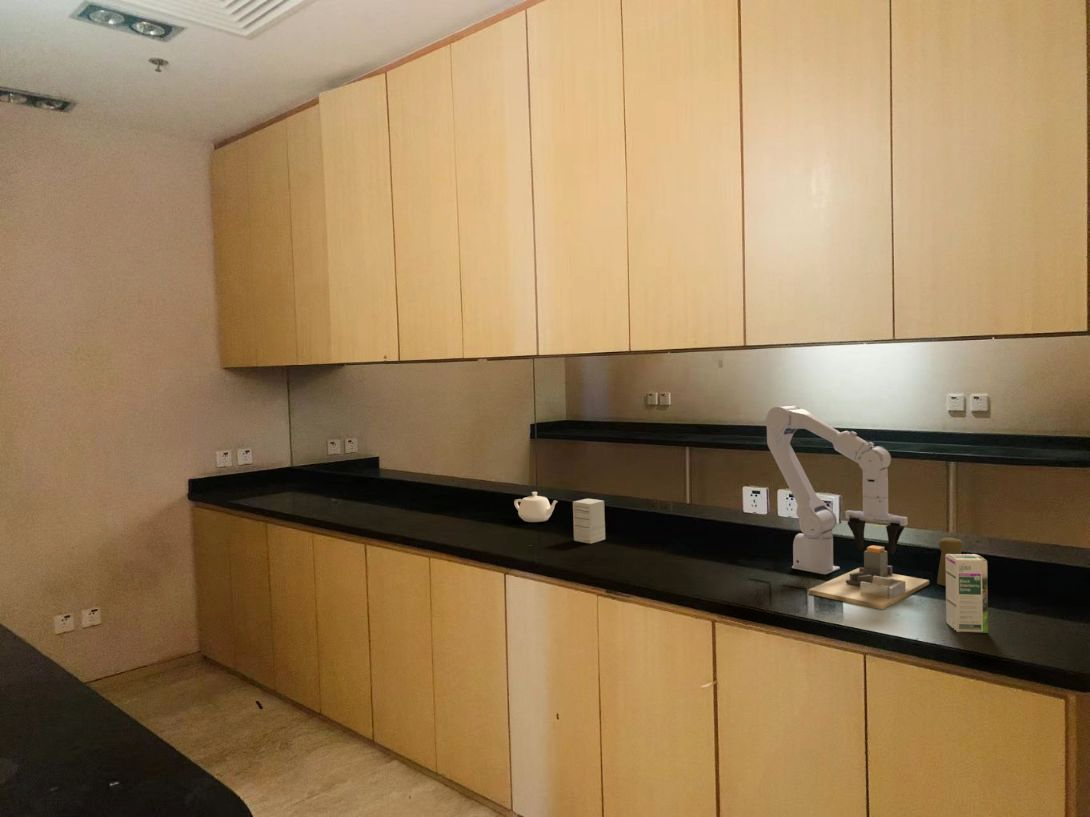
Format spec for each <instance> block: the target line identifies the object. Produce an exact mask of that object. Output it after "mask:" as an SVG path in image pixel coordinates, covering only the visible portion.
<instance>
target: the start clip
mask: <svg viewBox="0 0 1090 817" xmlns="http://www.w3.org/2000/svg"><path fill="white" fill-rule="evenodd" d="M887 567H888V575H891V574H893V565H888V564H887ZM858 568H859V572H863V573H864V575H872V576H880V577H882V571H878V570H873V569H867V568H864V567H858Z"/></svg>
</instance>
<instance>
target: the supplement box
mask: <svg viewBox="0 0 1090 817" xmlns="http://www.w3.org/2000/svg"><path fill="white" fill-rule="evenodd" d="M572 514H573V515H572V516H573V520H572V521H573V541H575V542H580V543H585V544H594V543H598V542H601V541H604V540H606V521H605V520H606V519H605V518H606V517H605V515H606V514H605V500H601V499H594V498H584V499H579V500H575V501H572Z"/></svg>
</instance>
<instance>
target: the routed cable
mask: <svg viewBox="0 0 1090 817" xmlns="http://www.w3.org/2000/svg"><path fill="white" fill-rule="evenodd" d="M872 580H873V576H872ZM867 582H868V583H871V581H870V580H868V581H867ZM846 583H847V584H850V585H855V586H860V582H858V578H856V579H855V581H852V580H846Z"/></svg>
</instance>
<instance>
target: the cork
mask: <svg viewBox="0 0 1090 817" xmlns="http://www.w3.org/2000/svg"><path fill="white" fill-rule="evenodd" d="M938 548H939V550H940V551H941V554H940V558H939V559H940V560H939V567H938V571H937V572H938V574H937V580H936V581H937V582H936V583H937V585H940V586H943V587H946V561H945V555H946V554H962V552H963V550H964V543H963V541H962V540H961V539H959V538H956V537H955V538H954V537H942V538H941V539H940V540H939V542H938Z"/></svg>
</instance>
